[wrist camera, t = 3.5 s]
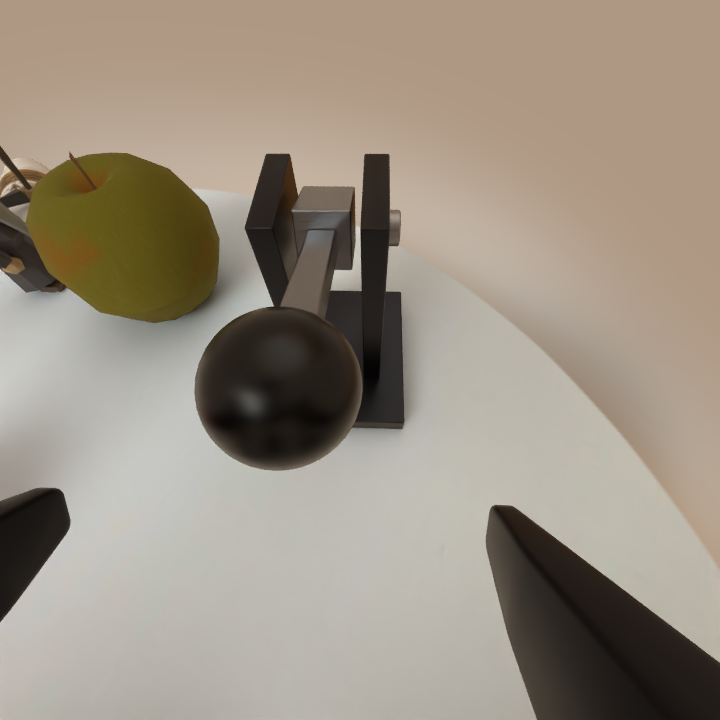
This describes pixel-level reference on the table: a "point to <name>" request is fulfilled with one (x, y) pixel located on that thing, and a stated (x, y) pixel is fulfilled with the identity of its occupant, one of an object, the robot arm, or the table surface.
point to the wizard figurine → (21, 241)
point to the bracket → (345, 308)
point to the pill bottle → (10, 182)
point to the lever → (288, 354)
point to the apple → (125, 236)
